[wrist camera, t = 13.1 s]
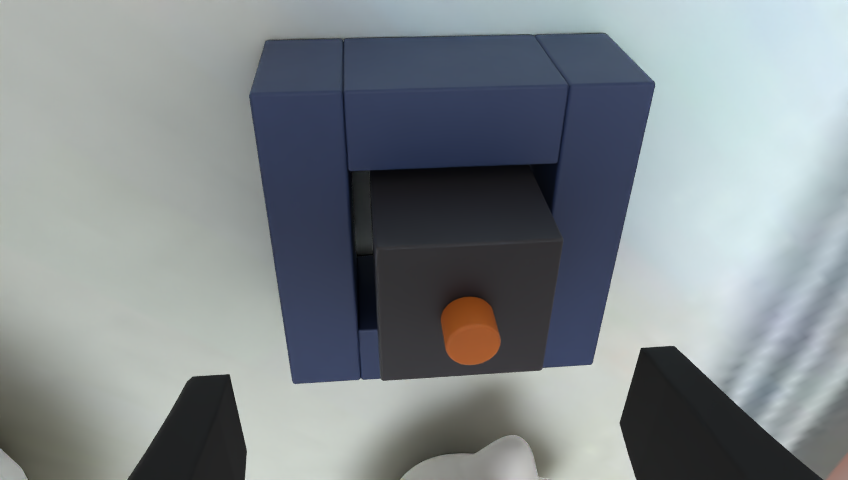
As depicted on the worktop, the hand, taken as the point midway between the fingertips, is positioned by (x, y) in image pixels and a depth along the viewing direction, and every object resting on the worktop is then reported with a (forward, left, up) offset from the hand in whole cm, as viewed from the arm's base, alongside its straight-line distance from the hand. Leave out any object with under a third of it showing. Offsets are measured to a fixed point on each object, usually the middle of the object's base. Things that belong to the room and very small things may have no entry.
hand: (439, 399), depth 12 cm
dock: (+1, -1, -9) cm, 9 cm away
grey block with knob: (+1, -1, -9) cm, 9 cm away
